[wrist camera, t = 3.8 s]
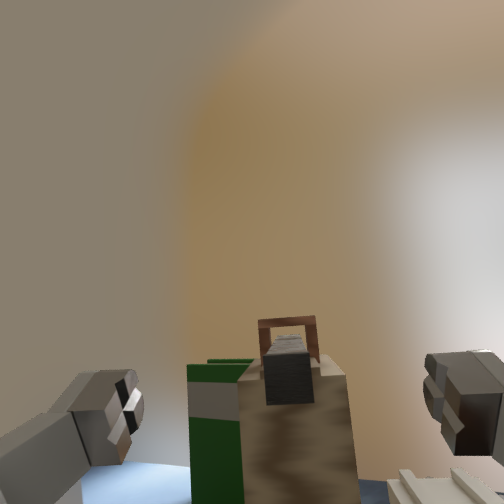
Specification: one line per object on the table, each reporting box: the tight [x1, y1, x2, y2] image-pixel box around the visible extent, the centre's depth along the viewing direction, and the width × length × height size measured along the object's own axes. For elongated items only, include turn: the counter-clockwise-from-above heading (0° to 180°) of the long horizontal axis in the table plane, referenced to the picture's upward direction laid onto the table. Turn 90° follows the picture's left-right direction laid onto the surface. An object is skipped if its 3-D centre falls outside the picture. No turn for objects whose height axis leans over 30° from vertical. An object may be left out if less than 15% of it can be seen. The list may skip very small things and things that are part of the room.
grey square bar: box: [263, 334, 315, 406], centre depth 34 cm, size 3×24×3 cm, turn 173°
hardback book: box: [187, 359, 254, 504], centre depth 60 cm, size 18×7×24 cm, turn 61°
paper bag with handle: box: [237, 315, 361, 504], centre depth 37 cm, size 10×16×31 cm, turn 173°
